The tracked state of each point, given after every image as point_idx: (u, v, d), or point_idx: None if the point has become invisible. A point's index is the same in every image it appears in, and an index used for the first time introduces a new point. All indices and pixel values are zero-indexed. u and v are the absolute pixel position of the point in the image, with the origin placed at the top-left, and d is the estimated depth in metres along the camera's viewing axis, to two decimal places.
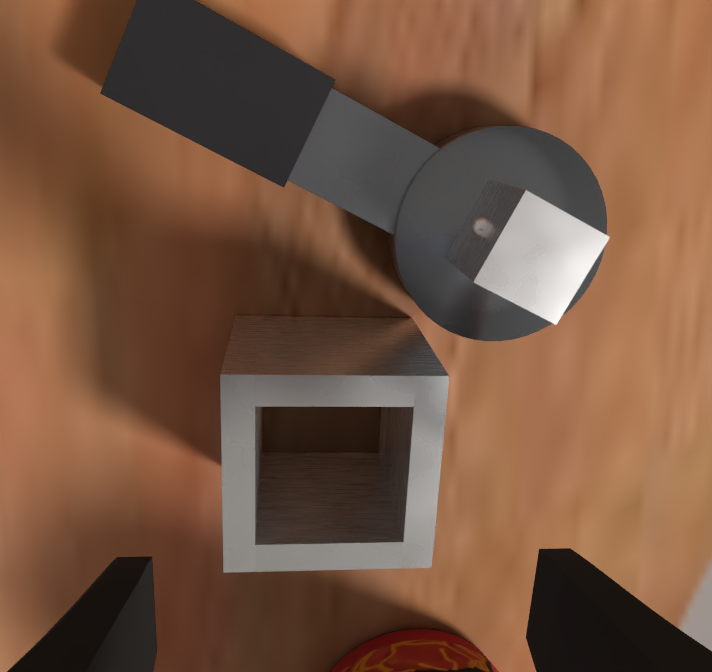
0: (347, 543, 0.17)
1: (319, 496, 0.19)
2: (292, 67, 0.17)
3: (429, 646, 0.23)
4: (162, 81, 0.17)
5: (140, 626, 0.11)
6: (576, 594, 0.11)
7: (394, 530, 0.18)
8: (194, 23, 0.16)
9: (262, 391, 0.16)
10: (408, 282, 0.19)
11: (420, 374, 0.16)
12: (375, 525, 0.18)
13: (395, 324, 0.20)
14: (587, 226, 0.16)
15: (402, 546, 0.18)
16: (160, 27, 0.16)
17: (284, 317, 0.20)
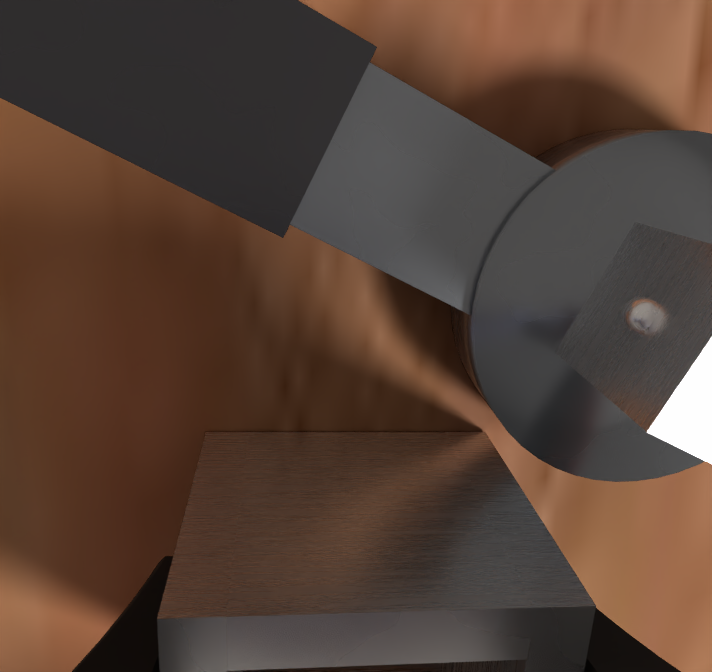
0: None
1: None
2: (299, 22, 0.09)
3: None
4: (59, 47, 0.09)
5: None
6: None
7: None
8: None
9: (241, 644, 0.08)
10: (492, 392, 0.11)
11: (542, 601, 0.08)
12: None
13: (462, 449, 0.12)
14: None
15: None
16: None
17: (283, 435, 0.13)
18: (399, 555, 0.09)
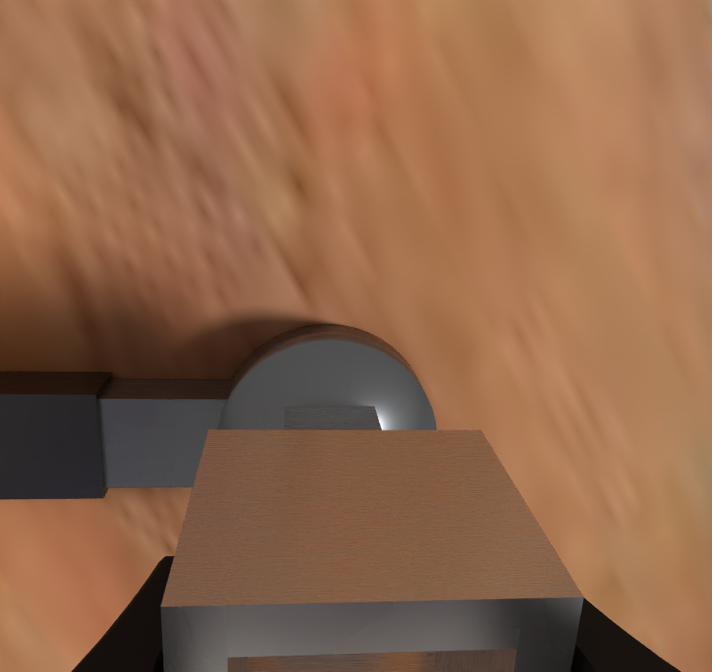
0: None
1: None
2: (51, 403, 0.17)
3: None
4: None
5: None
6: None
7: None
8: None
9: (241, 633, 0.08)
10: None
11: (531, 591, 0.09)
12: None
13: (458, 446, 0.13)
14: None
15: None
16: None
17: (284, 433, 0.13)
18: (394, 548, 0.10)
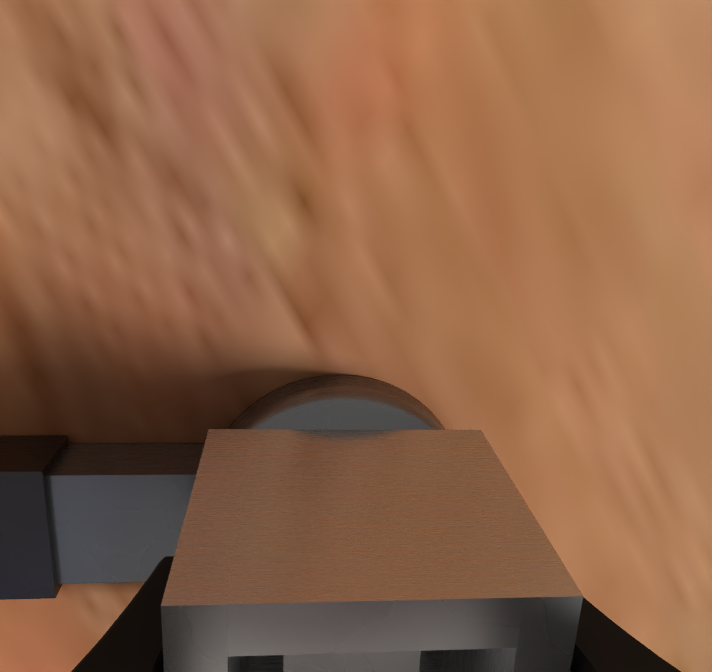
0: None
1: None
2: None
3: None
4: None
5: None
6: None
7: None
8: None
9: (241, 632, 0.08)
10: None
11: (530, 591, 0.09)
12: None
13: (458, 446, 0.13)
14: None
15: None
16: None
17: (284, 433, 0.13)
18: (394, 547, 0.10)
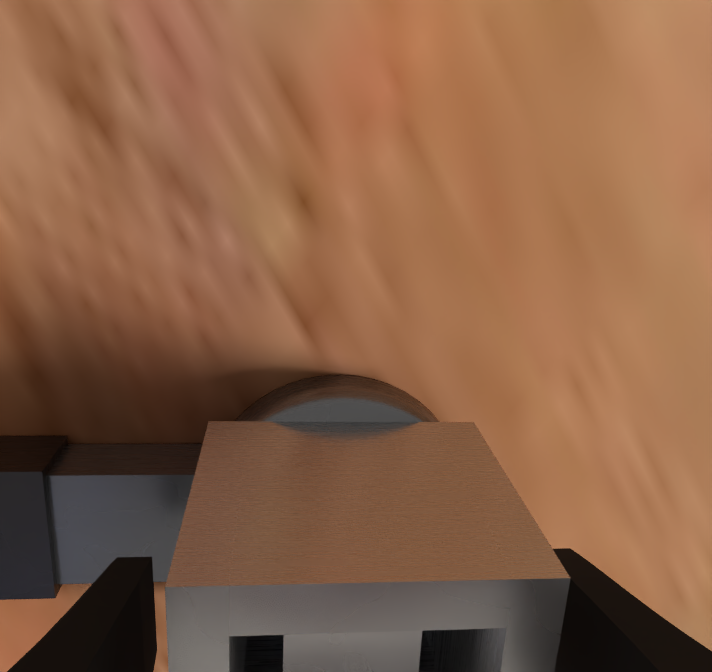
0: None
1: None
2: None
3: None
4: None
5: (140, 626, 0.11)
6: (576, 594, 0.11)
7: None
8: None
9: (243, 612, 0.09)
10: None
11: (520, 573, 0.09)
12: None
13: (451, 437, 0.13)
14: None
15: None
16: None
17: (282, 424, 0.13)
18: (389, 532, 0.10)
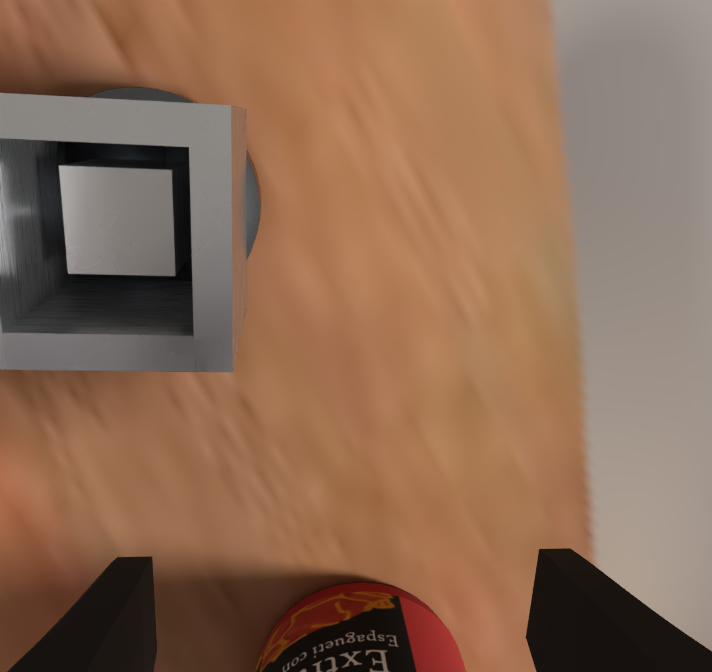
0: (123, 336, 0.14)
1: (117, 305, 0.16)
2: None
3: (325, 604, 0.23)
4: None
5: (140, 626, 0.11)
6: (576, 595, 0.11)
7: (189, 328, 0.14)
8: None
9: None
10: None
11: (196, 103, 0.13)
12: (168, 324, 0.15)
13: None
14: (143, 170, 0.15)
15: (194, 343, 0.14)
16: None
17: None
18: None
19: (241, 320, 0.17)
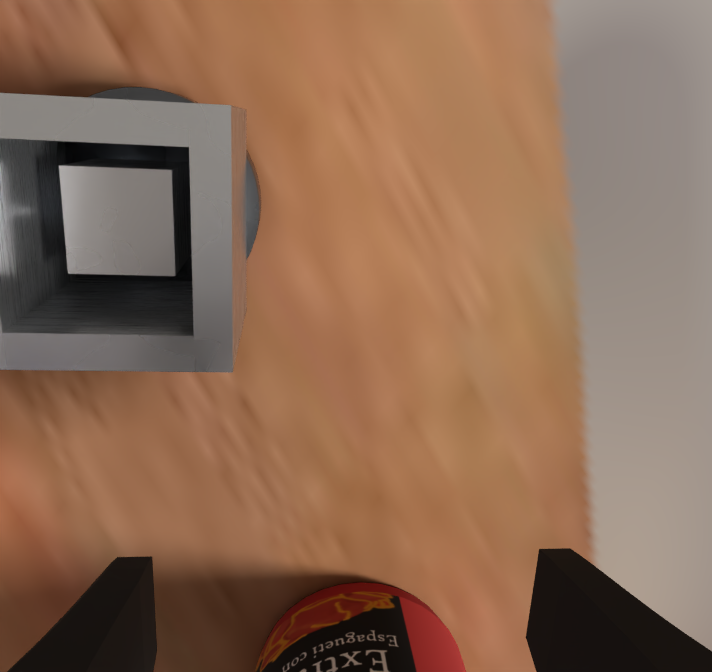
0: (123, 336, 0.14)
1: (117, 305, 0.16)
2: None
3: (325, 604, 0.23)
4: None
5: (140, 626, 0.11)
6: (576, 595, 0.11)
7: (189, 328, 0.14)
8: None
9: None
10: None
11: (196, 103, 0.13)
12: (168, 324, 0.15)
13: None
14: (143, 170, 0.15)
15: (194, 343, 0.14)
16: None
17: None
18: None
19: (241, 320, 0.17)
